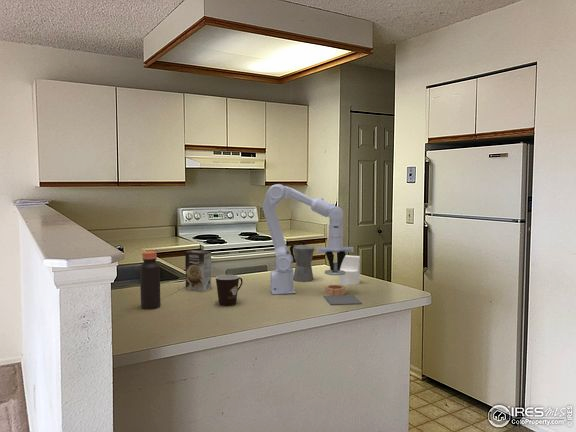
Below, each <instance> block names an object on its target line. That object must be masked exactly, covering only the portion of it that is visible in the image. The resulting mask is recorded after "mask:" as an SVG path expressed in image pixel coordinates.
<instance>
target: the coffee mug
mask: <svg viewBox="0 0 576 432" xmlns="http://www.w3.org/2000/svg"><path fill="white" fill-rule="evenodd" d="M215 281H216V282H215V283H216V290H217V298H218V299H217V300H218V305H219V306H223V307H232V306H235V305H237V300H238V293H239V292H238V291H239V290H240V289H241V287H242V285H243V278H242V277H240V276H239V275H236V274H222V275H217V276H215ZM239 281H240V282H239ZM239 283H240V285H239Z"/></svg>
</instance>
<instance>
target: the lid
mask: <svg viewBox="0 0 576 432" xmlns="http://www.w3.org/2000/svg"><path fill="white" fill-rule="evenodd" d="M324 274H326V275H329V276H339V275H344V274H346V272H345V271H343V270H339V271H338V263H337V262H333V271H331V270H330V269H326V270H324Z"/></svg>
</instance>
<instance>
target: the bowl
mask: <svg viewBox="0 0 576 432" xmlns="http://www.w3.org/2000/svg"><path fill="white" fill-rule="evenodd" d="M324 293H325V295H327V296H331V295H346V287H345V285H343V284H341V285H340V284H327V285H325V286H324Z"/></svg>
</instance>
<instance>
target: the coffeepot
mask: <svg viewBox="0 0 576 432" xmlns="http://www.w3.org/2000/svg"><path fill="white" fill-rule="evenodd" d="M314 251H316V249H315V247H313V246H310V245H307V244H306V241H305V240H301V244H300V245H298V244H292V243H291V245H290V246H289V253H290V254H291V255H292V257H293V263H295V268H294V271H293V281H295V282H300V283H307V282H313V281H314V273H313V267H312V261H313V256H314Z"/></svg>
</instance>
